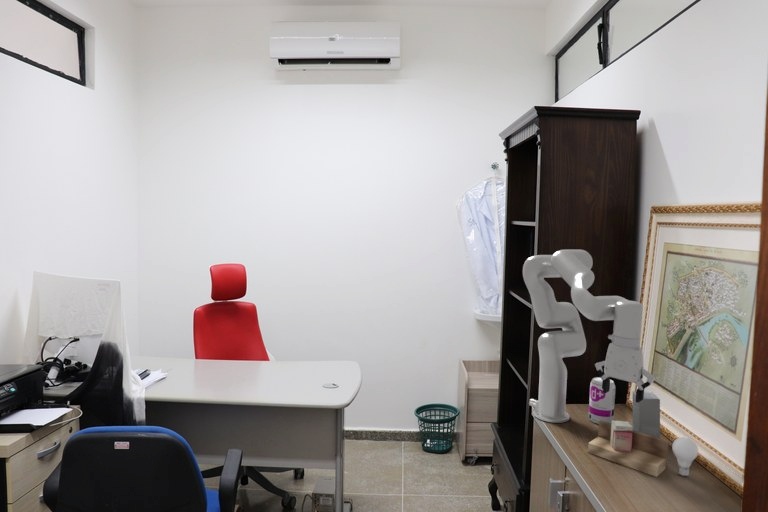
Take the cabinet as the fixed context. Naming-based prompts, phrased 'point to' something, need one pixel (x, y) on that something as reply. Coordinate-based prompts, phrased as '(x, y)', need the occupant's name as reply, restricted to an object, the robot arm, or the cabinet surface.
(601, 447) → the board
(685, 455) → the lightbulb
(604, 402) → the supplement can
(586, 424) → the cabinet surface
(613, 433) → the small box
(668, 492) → the cabinet surface
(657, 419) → the skincare box
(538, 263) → the robot arm
